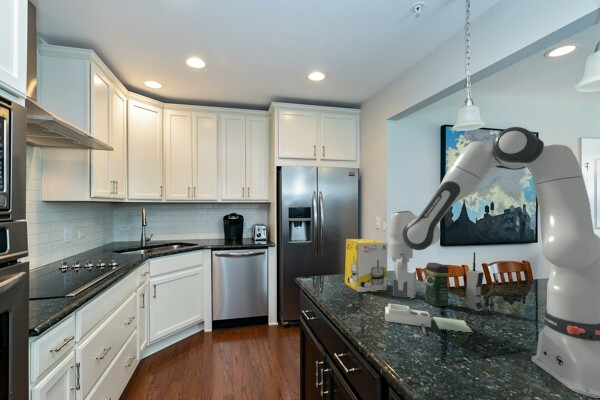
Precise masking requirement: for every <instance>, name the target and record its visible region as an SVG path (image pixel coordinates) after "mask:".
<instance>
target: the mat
mask: <svg viewBox="0 0 600 400" xmlns="http://www.w3.org/2000/svg"><path fill="white" fill-rule="evenodd" d="M432 318H433V320H434V323H435V325H436V327H437V326H438V327H437V329H438V330H443V329H444V330H443V331H450V330H454V331H453V332H458V331H462V332H461V333H465V332H472V333H473V330H472V329H471V328H470V326H469V325H468V324H467V323H466V321H465V320H462V319H455V318H448V317H447V318H446V317H438V316H433V317H432ZM466 324H467V325H468V326H467V325H466ZM445 329H446V330H445ZM472 333H471V334H472ZM473 334H474V333H473Z"/></svg>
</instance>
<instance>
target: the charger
mask: <svg viewBox="0 0 600 400" xmlns="http://www.w3.org/2000/svg"><path fill="white" fill-rule="evenodd" d="M392 296H393V297H401V298H406V297H407V282H404V285H403V290H398V281H397V279H396V277H393V278H392Z"/></svg>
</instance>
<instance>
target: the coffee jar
mask: <svg viewBox="0 0 600 400" xmlns="http://www.w3.org/2000/svg"><path fill="white" fill-rule="evenodd" d="M425 271H426V272H425V273H426V282H425V283H426V285H425V286H426V288H425V296H424V297H425V298H424V300H425V302H426V301H427V304H430V305H432V306H434V305H435V307H441V306H445V307H448V305H449V291H448V279H449V276H450V275H449V274H450V272H449V271H450V268H449V266H447V265H446V264H441V263H438V262H428V263H426V267H425Z"/></svg>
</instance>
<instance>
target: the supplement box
mask: <svg viewBox="0 0 600 400" xmlns="http://www.w3.org/2000/svg"><path fill="white" fill-rule="evenodd" d="M407 269H408V268H407ZM415 295H416V296H417V270H416V269H410V268H409V269H408V278H407V297H410V298H409V299H412V298H414V299H415V298H416V296H415Z"/></svg>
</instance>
